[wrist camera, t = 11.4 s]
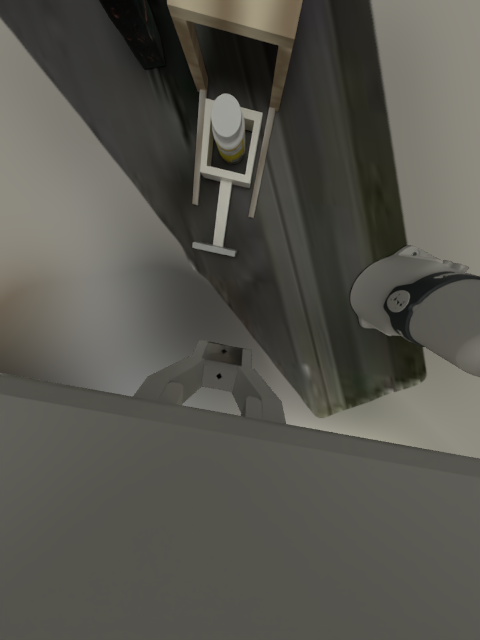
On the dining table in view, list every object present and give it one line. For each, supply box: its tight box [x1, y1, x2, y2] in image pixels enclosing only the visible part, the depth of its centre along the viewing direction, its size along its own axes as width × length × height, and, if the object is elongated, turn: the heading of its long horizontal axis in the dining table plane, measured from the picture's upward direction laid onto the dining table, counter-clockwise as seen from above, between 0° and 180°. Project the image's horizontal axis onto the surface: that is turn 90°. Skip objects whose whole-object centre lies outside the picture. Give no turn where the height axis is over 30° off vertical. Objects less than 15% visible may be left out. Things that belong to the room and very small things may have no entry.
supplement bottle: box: [211, 94, 246, 164], centre depth 26 cm, size 5×5×8 cm
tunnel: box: [167, 0, 303, 218], centre depth 22 cm, size 13×31×11 cm, turn 169°
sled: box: [192, 99, 263, 257], centre depth 30 cm, size 8×20×5 cm, turn 169°
